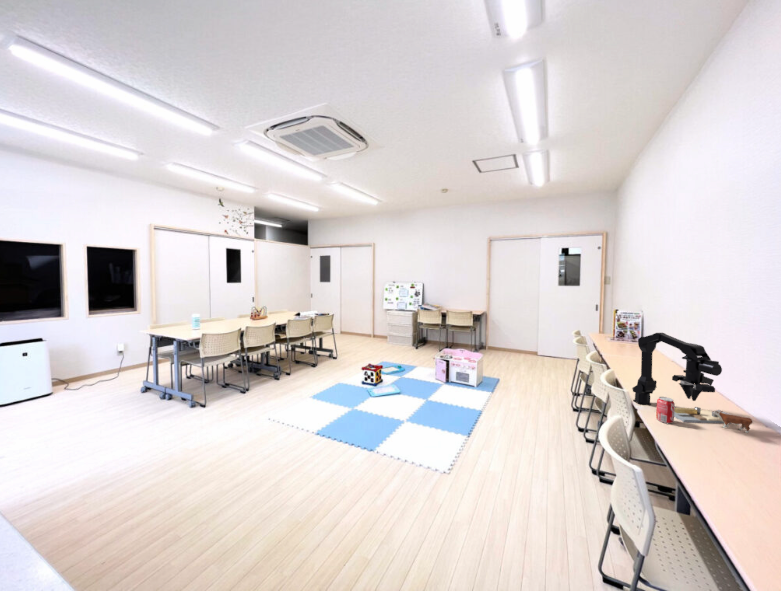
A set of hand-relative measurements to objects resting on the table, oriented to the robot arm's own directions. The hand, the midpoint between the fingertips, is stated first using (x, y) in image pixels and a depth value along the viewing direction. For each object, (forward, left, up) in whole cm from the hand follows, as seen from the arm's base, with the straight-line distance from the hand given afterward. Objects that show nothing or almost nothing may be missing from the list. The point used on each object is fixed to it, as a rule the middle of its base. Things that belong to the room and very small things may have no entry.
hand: (691, 399), depth 165 cm
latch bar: (+4, +6, -10) cm, 12 cm away
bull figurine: (+15, -5, -12) cm, 20 cm away
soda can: (-12, 0, -12) cm, 17 cm away
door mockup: (+9, +6, -12) cm, 16 cm away
